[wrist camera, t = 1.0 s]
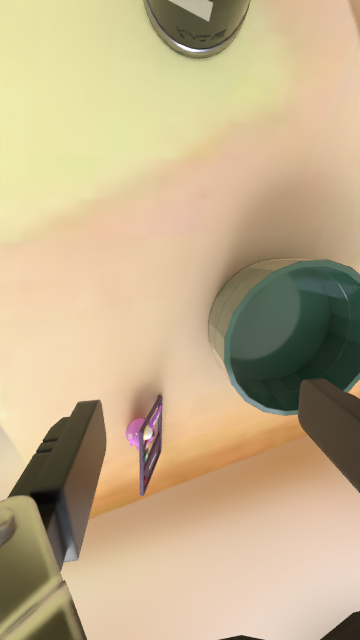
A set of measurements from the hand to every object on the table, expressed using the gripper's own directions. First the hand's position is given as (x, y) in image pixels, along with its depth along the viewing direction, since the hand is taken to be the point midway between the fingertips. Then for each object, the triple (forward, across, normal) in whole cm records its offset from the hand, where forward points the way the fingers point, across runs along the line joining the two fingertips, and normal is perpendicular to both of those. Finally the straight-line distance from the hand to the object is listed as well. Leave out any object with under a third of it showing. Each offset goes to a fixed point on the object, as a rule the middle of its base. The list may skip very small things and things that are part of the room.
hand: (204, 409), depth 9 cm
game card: (+20, +4, +16) cm, 26 cm away
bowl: (+19, -13, +3) cm, 23 cm away
